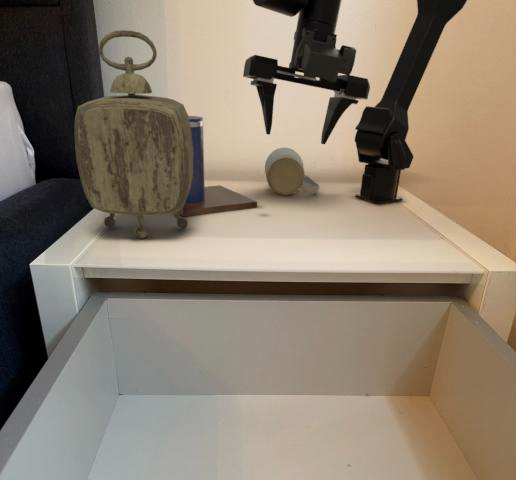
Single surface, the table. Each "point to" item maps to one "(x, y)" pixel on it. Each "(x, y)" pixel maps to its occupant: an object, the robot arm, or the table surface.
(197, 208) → the desk pad
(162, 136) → the tabletop clock
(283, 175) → the ceramic mug
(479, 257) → the table surface
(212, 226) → the table surface
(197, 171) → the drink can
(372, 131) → the robot arm
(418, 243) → the table surface
